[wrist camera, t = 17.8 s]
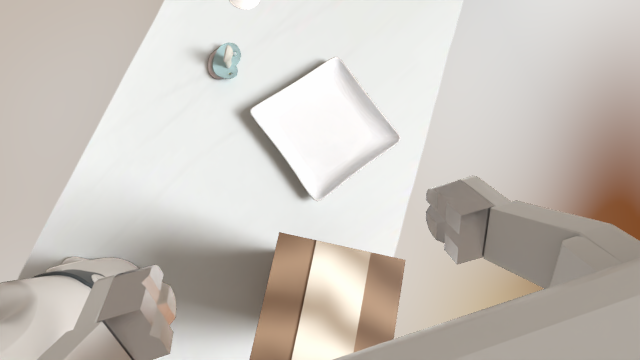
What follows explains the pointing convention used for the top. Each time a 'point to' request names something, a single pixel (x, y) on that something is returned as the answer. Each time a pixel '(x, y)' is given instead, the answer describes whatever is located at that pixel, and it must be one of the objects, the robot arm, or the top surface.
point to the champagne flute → (244, 3)
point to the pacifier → (224, 61)
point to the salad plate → (325, 127)
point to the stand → (326, 301)
